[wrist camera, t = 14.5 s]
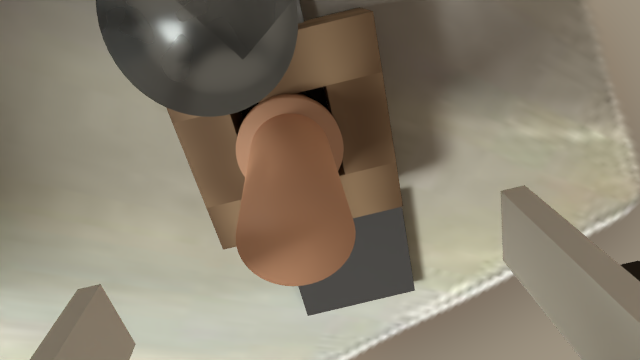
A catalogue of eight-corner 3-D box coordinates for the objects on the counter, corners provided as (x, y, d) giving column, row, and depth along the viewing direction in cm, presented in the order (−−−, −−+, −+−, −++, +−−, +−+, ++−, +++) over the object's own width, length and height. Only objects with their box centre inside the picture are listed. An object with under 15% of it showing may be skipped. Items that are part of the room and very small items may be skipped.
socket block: (229, 218, 30) (189, 411, 17) (138, -26, 23) (-67, -40, 9) (388, 180, 30) (479, 343, 16) (345, -78, 23) (444, -170, 9)
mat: (307, 307, 35) (307, 315, 34) (279, 218, 31) (279, 225, 30) (411, 282, 35) (414, 290, 34) (396, 190, 31) (400, 196, 30)
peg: (257, 172, 29) (241, 316, 16) (231, 90, 26) (188, 186, 14) (340, 152, 29) (387, 281, 16) (322, 68, 26) (361, 144, 14)
